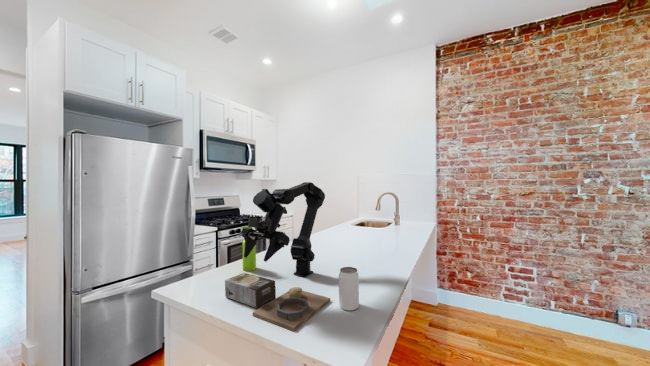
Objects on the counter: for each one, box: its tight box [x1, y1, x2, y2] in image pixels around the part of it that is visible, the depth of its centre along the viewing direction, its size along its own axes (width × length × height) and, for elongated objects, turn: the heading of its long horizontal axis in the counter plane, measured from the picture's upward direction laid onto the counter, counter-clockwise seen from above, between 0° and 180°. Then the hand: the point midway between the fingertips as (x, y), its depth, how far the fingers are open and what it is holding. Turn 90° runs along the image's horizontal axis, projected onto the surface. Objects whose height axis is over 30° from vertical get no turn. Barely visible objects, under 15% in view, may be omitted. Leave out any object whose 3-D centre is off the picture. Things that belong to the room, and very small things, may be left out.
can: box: [338, 266, 360, 312], centre depth 83 cm, size 6×6×12 cm
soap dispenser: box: [239, 225, 257, 272], centre depth 119 cm, size 6×7×20 cm
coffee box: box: [224, 272, 277, 309], centre depth 90 cm, size 9×6×16 cm
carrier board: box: [252, 286, 331, 332], centre depth 82 cm, size 20×16×3 cm
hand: (254, 259), depth 87 cm, fingers open, 9 cm apart
